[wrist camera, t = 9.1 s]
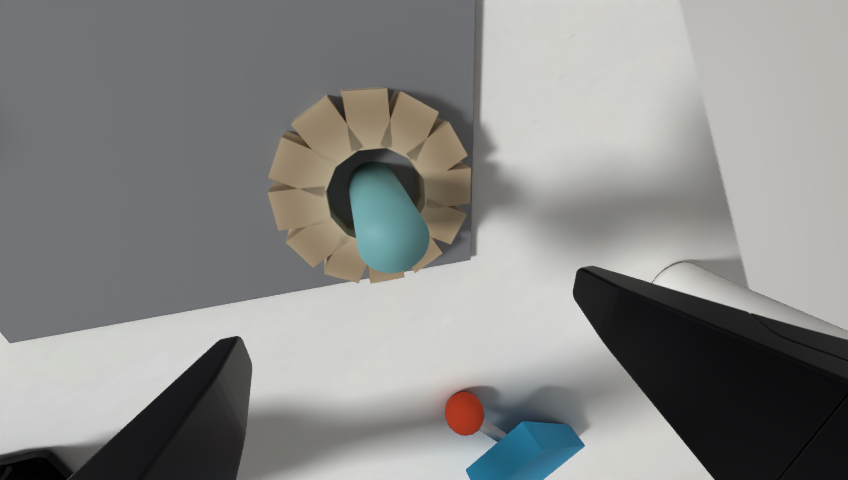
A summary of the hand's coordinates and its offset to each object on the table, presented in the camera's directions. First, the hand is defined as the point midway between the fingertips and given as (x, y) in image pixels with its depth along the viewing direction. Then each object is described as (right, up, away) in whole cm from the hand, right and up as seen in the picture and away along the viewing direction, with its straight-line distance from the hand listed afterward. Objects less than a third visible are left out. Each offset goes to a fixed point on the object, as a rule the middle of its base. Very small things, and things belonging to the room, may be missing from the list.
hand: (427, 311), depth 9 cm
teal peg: (-3, +5, +10) cm, 12 cm away
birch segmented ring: (-3, +5, +10) cm, 12 cm away
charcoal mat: (-10, +7, +8) cm, 14 cm away
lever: (+8, -17, +25) cm, 32 cm away
